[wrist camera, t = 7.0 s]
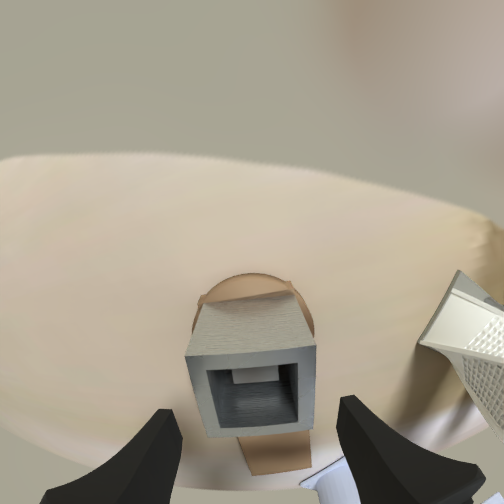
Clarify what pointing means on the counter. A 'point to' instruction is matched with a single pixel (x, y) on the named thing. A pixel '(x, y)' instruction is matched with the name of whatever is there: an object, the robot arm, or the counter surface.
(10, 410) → the counter surface
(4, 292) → the counter surface
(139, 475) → the robot arm
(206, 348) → the steel collar
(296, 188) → the counter surface
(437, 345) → the skyscraper
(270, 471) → the walnut base
